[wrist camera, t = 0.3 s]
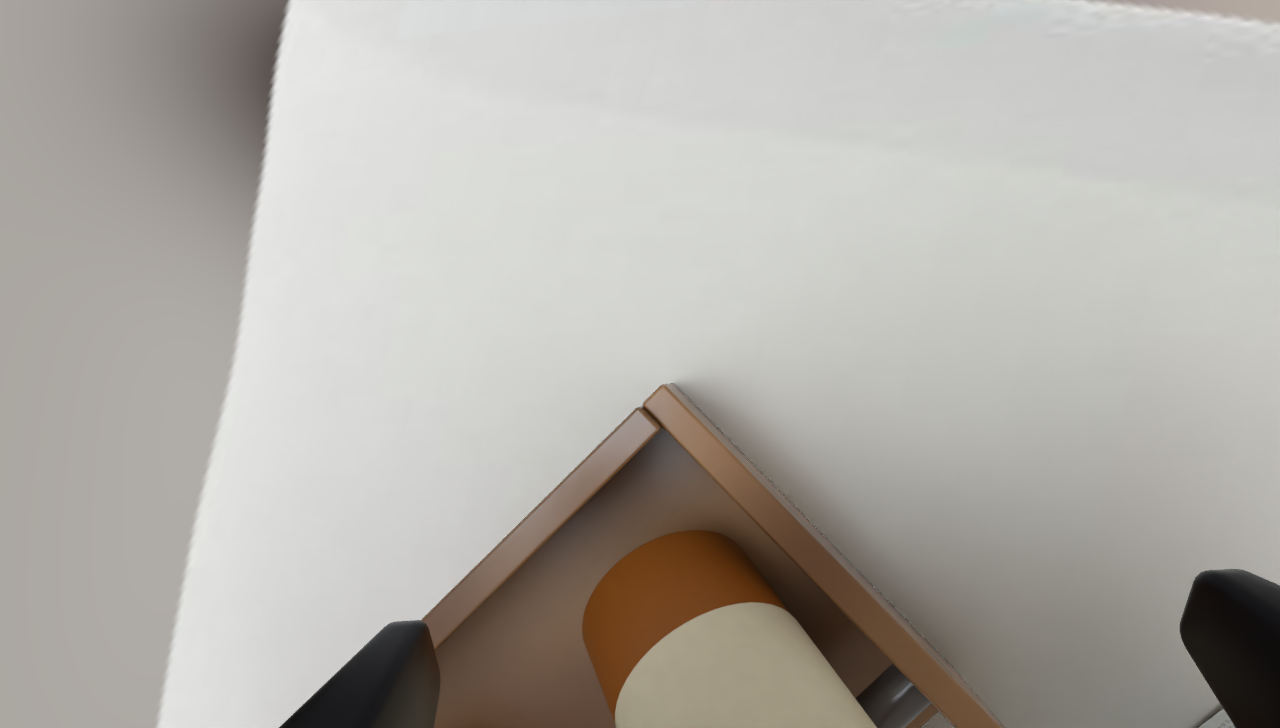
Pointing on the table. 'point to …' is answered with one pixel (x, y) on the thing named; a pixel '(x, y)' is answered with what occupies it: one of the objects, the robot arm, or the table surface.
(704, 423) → the rack
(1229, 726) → the white cardboard box
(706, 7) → the table surface
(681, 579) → the amber bottle
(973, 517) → the table surface
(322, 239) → the table surface
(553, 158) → the table surface
